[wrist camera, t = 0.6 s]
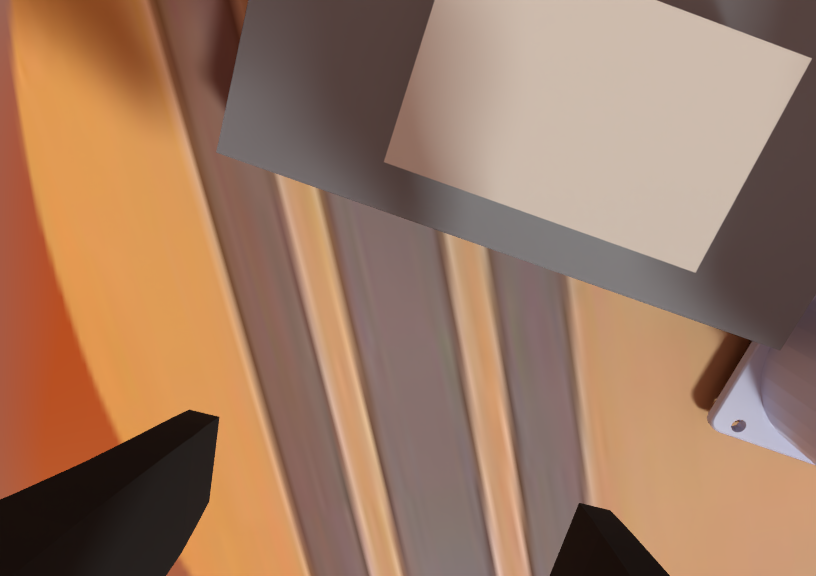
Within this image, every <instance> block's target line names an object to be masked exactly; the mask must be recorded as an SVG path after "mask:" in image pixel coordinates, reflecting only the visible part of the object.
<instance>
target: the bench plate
mask: <svg viewBox="0 0 816 576" xmlns="http://www.w3.org/2000/svg"><path fill="white" fill-rule="evenodd" d="M434 1H435V0H248V5H247V9H246V14H245V19H244V24H243V28H242V33H241V38H240V43H239V47H238V52H237V57H236V62H235V66H234V71H233V76H232V81H231V86H230V90H229V95H228V100H227V105H226V109H225V114H224V119H223V124H222V128H221V133H220V138H219V143H218V147H217V153H219V154H222V155H225V156H228V157H231V158H234V159H236V160H239V161H242V162H245V163H248V164H251V165H254V166H256V167H259V168H262V169H265V170H268V171H271V172H273V173H276V174H279V175H282V176H285V177H288V178H291V179H293V180H296V181H299V182H302V183H305V184H308V185H310V186H313V187H316V188H319V189H322V190H325V191H328V192H330V193H333V194H336V195H339V196H342V197H345V198H347V199H350V200H353V201H356V202H359V203H362V204H365V205H367V206H370V207H373V208H376V209H379V210H382V211H384V212H387V213H390V214H393V215H396V216H399V217H402V218H404V219H407V220H410V221H413V222H416V223H419V224H421V225H424V226H427V227H430V228H433V229H436V230H438V231H441V232H444V233H447V234H450V235H453V236H456V237H458V238H461V239H464V240H467V241H470V242H473V243H475V244H478V245H481V246H484V247H487V248H490V249H493V250H495V251H498V252H501V253H504V254H507V255H510V256H512V257H515V258H518V259H521V260H524V261H527V262H530V263H532V264H535V265H538V266H541V267H544V268H547V269H549V270H552V271H555V272H558V273H561V274H564V275H567V276H569V277H572V278H575V279H578V280H581V281H584V282H586V283H589V284H592V285H595V286H598V287H601V288H603V289H606V290H609V291H612V292H615V293H618V294H621V295H623V296H626V297H629V298H632V299H635V300H638V301H640V302H643V303H646V304H649V305H652V306H655V307H658V308H660V309H663V310H666V311H669V312H672V313H675V314H677V315H680V316H683V317H686V318H689V319H692V320H695V321H697V322H700V323H703V324H706V325H709V326H712V327H714V328H717V329H720V330H723V331H726V332H729V333H732V334H734V335H737V336H740V337H743V338H746V339H749V340H751V341H754V342H757V343H760V344H763V345H766V346H768V347H771V348H774V349H777V350H781V349H782V347H783V346H784V344H785V342H786V341H787V339H788V338H789V336H790V334H791V333H792V331H793V330H794V328H795V327H796V325H797V323H798V322H799V320H800V319H801V317H802V316H803V314H804V312H805V311H806V309H807V308H808V306H809V304H810V303H811V301H812V300H813V298H814V297H815V295H816V0H657V1H660V2H663V3H665V4H668V5H671V6H673V7H676V8H679V9H681V10H684V11H687V12H689V13H692V14H695V15H697V16H700V17H703V18H705V19H708V20H711V21H713V22H716V23H719V24H721V25H724V26H727V27H729V28H732V29H735V30H737V31H740V32H743V33H745V34H748V35H751V36H753V37H756V38H759V39H761V40H764V41H767V42H769V43H772V44H775V45H777V46H780V47H783V48H785V49H788V50H791V51H794V52H796V53H799V54H802V55H804V56H807V57H810V58H812V60H811V61H810V63H809V65H808V67H807V69H806V71H805V72H804V74H803V76H802V78H801V80H800V82H799V83H798V85H797V87H796V89H795V91H794V93H793V94H792V96H791V98H790V100H789V102H788V104H787V105H786V107H785V109H784V111H783V113H782V115H781V116H780V118H779V120H778V122H777V124H776V126H775V127H774V129H773V131H772V133H771V135H770V137H769V139H768V140H767V142H766V144H765V146H764V148H763V150H762V151H761V153H760V155H759V157H758V159H757V161H756V162H755V164H754V166H753V168H752V170H751V172H750V173H749V175H748V177H747V179H746V181H745V183H744V184H743V186H742V188H741V190H740V192H739V194H738V195H737V197H736V199H735V201H734V203H733V205H732V206H731V208H730V210H729V212H728V214H727V216H726V217H725V219H724V221H723V223H722V225H721V227H720V228H719V230H718V232H717V234H716V236H715V238H714V239H713V241H712V243H711V245H710V247H709V249H708V251H707V252H706V254H705V256H704V258H703V260H702V262H701V263H700V265H699V267H698V269H697V271H696V273H695V272H692V271H689V270H686V269H683V268H681V267H678V266H675V265H672V264H669V263H667V262H664V261H661V260H658V259H655V258H652V257H650V256H647V255H644V254H641V253H638V252H636V251H633V250H630V249H627V248H624V247H621V246H619V245H616V244H613V243H610V242H607V241H605V240H602V239H599V238H596V237H593V236H590V235H588V234H585V233H582V232H579V231H576V230H574V229H571V228H568V227H565V226H562V225H559V224H557V223H554V222H551V221H548V220H545V219H543V218H540V217H537V216H534V215H531V214H529V213H526V212H523V211H520V210H517V209H514V208H512V207H509V206H506V205H503V204H500V203H498V202H495V201H492V200H489V199H486V198H483V197H481V196H478V195H475V194H472V193H469V192H467V191H464V190H461V189H458V188H455V187H452V186H450V185H447V184H444V183H441V182H438V181H436V180H433V179H430V178H427V177H424V176H421V175H419V174H416V173H413V172H410V171H407V170H405V169H402V168H399V167H396V166H393V165H391V164H388V163H385V162H384V160H385V156H386V153H387V150H388V147H389V144H390V141H391V137H392V134H393V131H394V128H395V125H396V121H397V118H398V115H399V112H400V109H401V106H402V102H403V99H404V96H405V93H406V90H407V87H408V83H409V80H410V77H411V74H412V71H413V67H414V64H415V61H416V58H417V55H418V52H419V48H420V45H421V42H422V39H423V36H424V33H425V29H426V26H427V23H428V20H429V17H430V13H431V10H432V7H433V4H434Z"/></svg>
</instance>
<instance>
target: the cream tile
mask: <svg viewBox="0 0 816 576" xmlns="http://www.w3.org/2000/svg"><path fill="white" fill-rule="evenodd" d="M811 60H812V58H810V57H807V56H804V55H802V54H799V53H796V52H794V51H791V50H788V49H785V48H783V47H780V46H777V45H775V44H772V43H769V42H767V41H764V40H761V39H759V38H756V37H753V36H751V35H748V34H745V33H743V32H740V31H737V30H735V29H732V28H729V27H727V26H724V25H721V24H719V23H716V22H713V21H711V20H708V19H705V18H703V17H700V16H697V15H695V14H692V13H689V12H687V11H684V10H681V9H679V8H676V7H673V6H671V5H668V4H665V3H663V2H660V1H657V0H435V1H434V4H433V7H432V10H431V13H430V17H429V20H428V23H427V26H426V29H425V33H424V36H423V39H422V42H421V45H420V48H419V52H418V55H417V58H416V61H415V64H414V67H413V71H412V74H411V77H410V80H409V83H408V87H407V90H406V93H405V96H404V99H403V102H402V106H401V109H400V112H399V115H398V118H397V121H396V125H395V128H394V131H393V134H392V137H391V141H390V144H389V147H388V150H387V153H386V156H385V160H384V162H385V163H388V164H391V165H393V166H396V167H399V168H402V169H405V170H407V171H410V172H413V173H416V174H419V175H421V176H424V177H427V178H430V179H433V180H436V181H438V182H441V183H444V184H447V185H450V186H452V187H455V188H458V189H461V190H464V191H467V192H469V193H472V194H475V195H478V196H481V197H483V198H486V199H489V200H492V201H495V202H498V203H500V204H503V205H506V206H509V207H512V208H514V209H517V210H520V211H523V212H526V213H529V214H531V215H534V216H537V217H540V218H543V219H545V220H548V221H551V222H554V223H557V224H559V225H562V226H565V227H568V228H571V229H574V230H576V231H579V232H582V233H585V234H588V235H590V236H593V237H596V238H599V239H602V240H605V241H607V242H610V243H613V244H616V245H619V246H621V247H624V248H627V249H630V250H633V251H636V252H638V253H641V254H644V255H647V256H650V257H652V258H655V259H658V260H661V261H664V262H667V263H669V264H672V265H675V266H678V267H681V268H683V269H686V270H689V271H692V272H695V273H696V271H697V269H698V267H699V265H700V263H701V262H702V260H703V258H704V256H705V254H706V252H707V251H708V249H709V247H710V245H711V243H712V241H713V239H714V238H715V236H716V234H717V232H718V230H719V228H720V227H721V225H722V223H723V221H724V219H725V217H726V216H727V214H728V212H729V210H730V208H731V206H732V205H733V203H734V201H735V199H736V197H737V195H738V194H739V192H740V190H741V188H742V186H743V184H744V183H745V181H746V179H747V177H748V175H749V173H750V172H751V170H752V168H753V166H754V164H755V162H756V161H757V159H758V157H759V155H760V153H761V151H762V150H763V148H764V146H765V144H766V142H767V140H768V139H769V137H770V135H771V133H772V131H773V129H774V127H775V126H776V124H777V122H778V120H779V118H780V116H781V115H782V113H783V111H784V109H785V107H786V105H787V104H788V102H789V100H790V98H791V96H792V94H793V93H794V91H795V89H796V87H797V85H798V83H799V82H800V80H801V78H802V76H803V74H804V72H805V71H806V69H807V67H808V65H809V63H810V61H811Z"/></svg>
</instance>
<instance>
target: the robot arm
mask: <svg viewBox="0 0 816 576" xmlns="http://www.w3.org/2000/svg"><path fill="white" fill-rule="evenodd" d="M707 420H708V423H709V424H710V425H711V426H712V427H713V429H714V430H716V431H718V432H720V433H723V434H726V435H729V436H732V437H735V438H738V439H741V440H743V441H746V442H749V443H752V444H755V445H758V446H761V447H764V448H767V449H770V450H773V451H775V452H778V453H781V454H784V455H787V456H790V457H793V458H796V459H799V460H802V461H805V462H807V463H810V464H813V465H816V295H815V297H814V298H813V300H812V301H811V303H810V304H809V306H808V308H807V309H806V311H805V312H804V314H803V316H802V317H801V319H800V320H799V322H798V323H797V325H796V327H795V328H794V330H793V331H792V333H791V334H790V336H789V338H788V339H787V341H786V342H785V344H784V346H783V347H782V349H781V350H777V349H774V348H771V347H768V346H766V345H763V344H760V343H757V342H754V341H752V342H751V344H750V346H749V347H748V349H747V351H746V352H745V354H744V355H743V357H742V359H741V360H740V362H739V364H738V365H737V367H736V369H735V370H734V372H733V373H732V375H731V377H730V378H729V380H728V382H727V383H726V385H725V387H724V388H723V390H722V392H721V393H720V395H719V396H718V398H717V400H716V401H715V403H714V405H713V406H712V408H711V410H710V411H709V413H708V416H707ZM736 420H740V421H739V423H738V424H737V425H735V426H731V425H732V423H733V422H734V421H736ZM218 424H219V417H217V416H213V415H209V414H205V413H201V412H196V411H192V410H188V411H186V412H183V413H181V414H179V415H177V416H175V417H173V418H171V419H169V420H167V421H165V422H163V423H161V424H159V425H157V426H155V427H153V428H151V429H149V430H147V431H146V432H144V433H142V434H140V435H138V436H136V437H134V438H132V439H130V440H128V441H126V442H124V443H122V444H120V445H118V446H116V447H114V448H112V449H110V450H108V451H106V452H104V453H102V454H100V455H98V456H96V457H94V458H92V459H90V460H88V461H86V462H83V463H81V464H79V465H77V466H75V467H72V468H70V469H68V470H66V471H64V472H61V473H59V474H57V475H55V476H53V477H50V478H48V479H46V480H44V481H41V482H39V483H37V484H35V485H32V486H31V487H28V488H26V489H24V490H21V491H20V492H17V493H15V494H13V495H10V496H8V497H5V498H3V499H1V500H0V576H166V575H167V573H168V572H169V570H170V569H171V567H172V566H173V565H174V563H175V562H176V560H177V559H178V557H179V556H180V554H181V553H182V551H183V549H184V547H185V545H186V544H187V542H188V540H189V538H190V536H191V535H192V533H193V531H194V529H195V527H196V525H197V523H198V522H199V520H200V518H201V516H202V514H203V512H204V510H205V508H206V506H207V504H208V503H209V498H210V490H211V481H212V473H213V465H214V457H215V449H216V440H217V432H218ZM550 576H670V575H669V574H668V573H667V572H666V571H665V570H664V569H663V568H662V566H661V565H660V564H659V563H658V562H657V561H656V560H655V559H654V557H653V556H652V555H651V554H650V553H649V552H648V551H647V550H646V548H645V547H644V546H643V545H642V544H641V543H640V542H639V541H638V540H637V538H636V537H635V536H634V535H633V534H632V533H631V532H630V531H629V530H628V529H627V527H626V526H625V525H624V524H623V523H622V522H621V521H620V520H619V519H618V518H617V517H616V516H615V515H614V514H613V513H612V512H611V511H610V510H606V509H602V508H598V507H594V506H590V505H586V504H581V503H579V505H578V507H577V510H576V512H575V514H574V517H573V519H572V522H571V524H570V527H569V529H568V532H567V534H566V537H565V539H564V542H563V544H562V547H561V549H560V552H559V554H558V556H557V559H556V561H555V564H554V566H553V569H552V571H551V574H550Z"/></svg>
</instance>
